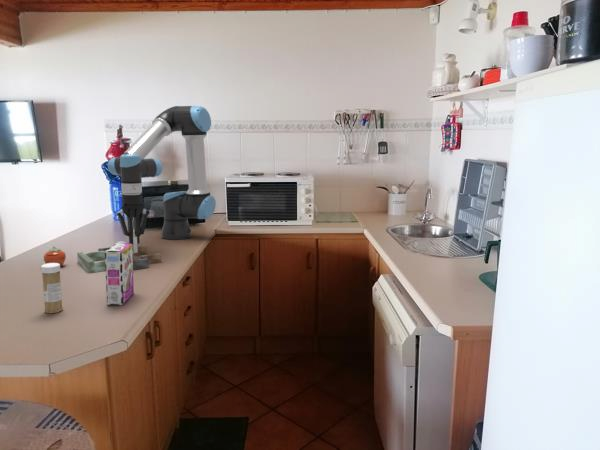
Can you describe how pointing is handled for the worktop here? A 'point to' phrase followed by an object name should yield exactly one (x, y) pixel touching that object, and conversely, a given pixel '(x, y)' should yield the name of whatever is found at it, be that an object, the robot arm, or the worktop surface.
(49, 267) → the sprinkles bottle
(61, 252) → the tomato
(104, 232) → the worktop surface
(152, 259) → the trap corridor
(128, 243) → the die
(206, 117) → the robot arm
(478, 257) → the worktop surface
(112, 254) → the candy bar box
